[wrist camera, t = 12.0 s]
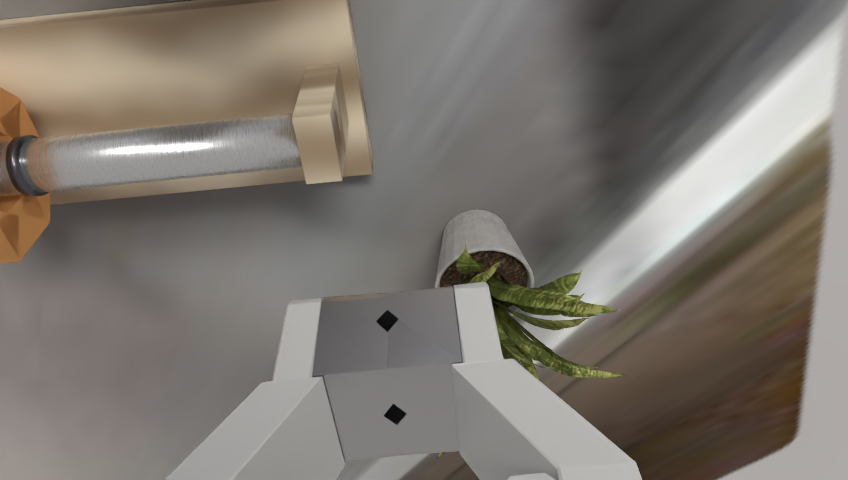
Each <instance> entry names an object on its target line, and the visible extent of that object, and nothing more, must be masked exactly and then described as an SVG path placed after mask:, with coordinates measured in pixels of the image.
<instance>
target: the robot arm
mask: <svg viewBox="0 0 848 480" xmlns="http://www.w3.org/2000/svg"><path fill="white" fill-rule="evenodd" d="M454 451H460V455H461V456H462V457H463V459H464V460H465V461H466V463H467V464H468V465H469V466H470V468H471V469H472V470H473V472H474V473H475V474H476V475H477V477H478V478H479V479H480V480H642V478H641V475H640V472H639V470H638V467H637V464H636V462H635V461H634V460H632V459H631V458H630V457H629V456H628V455H627V454H625V453H624V452H623V451H622V450H621V449H619V448H618V447H617V446H616V445H615V444H614V443H612V442H611V441H610V440H609V439H608V438H606V437H605V436H604V435H603V434H602V433H601V432H599V431H598V430H597V429H596V428H595V427H593V426H592V425H591V424H590V423H589V422H588V421H586V420H585V419H584V418H583V417H582V416H581V415H579V414H578V413H577V412H576V411H575V410H573V409H572V408H571V407H570V406H569V405H568V404H566V403H565V402H564V401H563V400H562V399H560V398H559V397H558V396H557V395H556V394H555V393H553V392H552V391H551V390H550V389H549V388H547V387H546V386H545V385H544V384H543V383H542V382H540V381H539V380H538V379H537V378H536V377H534V376H533V375H532V374H531V373H530V372H529V371H527V370H526V369H525V368H524V367H523V366H521V365H520V364H519V363H518V362H517V361H516V360H514V359H503V355H502V350H501V346H500V341H499V336H498V331H497V326H496V321H495V316H494V311H493V306H492V301H491V296H490V291H489V286H488V284H487V283H486V282H478V283H469V284H461V285H454V286H453V287H452V286H449V287H440V288H430V289H420V290H410V291H400V292H391V293H376V294H362V295H348V296H335V297H324V298H315V299H302V300H291V301H290V303H289V304H288V306H287V307H286V312H285V317H284V322H283V327H282V332H281V337H280V342H279V347H278V352H277V357H276V362H275V368H274V373H273V378H272V381H269V382H262V383H261V384H260V385H259V386H258V387H257V388H256V389H255V390H254V391H253V392H252V393H251V394H250V395H249V396H248V397H247V398H246V399H245V400H244V401H243V402H242V403H241V404H240V405H239V406H238V407H237V408H236V409H235V410H234V411H233V412H232V413H231V414H230V415H229V416H228V417H227V418H226V419H225V420H224V421H223V422H222V423H221V424H220V425H219V426H218V427H217V428H216V429H215V430H214V431H213V432H212V433H211V434H210V435H209V436H208V437H207V438H206V439H205V440H204V441H203V442H202V443H201V444H200V445H199V446H198V447H197V448H196V449H195V450H194V451H193V452H192V453H191V454H190V455H189V456H188V457H187V458H186V459H185V460H184V461H183V462H182V463H181V464H180V465H179V466H178V467H177V468H176V469H175V470H174V471H173V472H172V473H171V474H170V475H169V476H168V477H167V478H166V479H165V480H336V479H337V477H338V476H339V474H340V473H341V471H342V470H343V468H344V466H345V462H347V461H355V460H363V459H372V458H380V457H388V456H397V455H408V454H424V453H439V452H454Z"/></svg>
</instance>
